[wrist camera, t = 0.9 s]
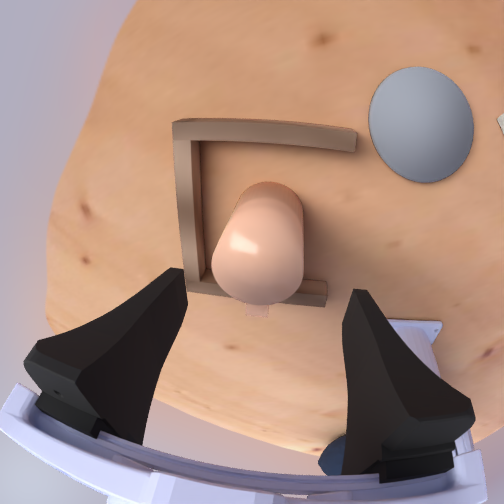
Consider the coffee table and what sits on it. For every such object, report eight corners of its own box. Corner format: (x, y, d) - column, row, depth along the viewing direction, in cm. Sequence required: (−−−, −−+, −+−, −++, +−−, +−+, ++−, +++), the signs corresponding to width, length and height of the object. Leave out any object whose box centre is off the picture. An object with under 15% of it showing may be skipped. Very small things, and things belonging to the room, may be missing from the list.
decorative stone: (355, 415, 35) (357, 477, 27) (403, 427, 37) (408, 479, 29) (306, 439, 41) (301, 491, 33) (355, 449, 43) (355, 495, 35)
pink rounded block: (296, 268, 23) (292, 334, 17) (236, 261, 24) (215, 324, 18) (306, 185, 20) (309, 234, 14) (236, 179, 20) (209, 225, 14)
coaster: (457, 188, 17) (461, 191, 17) (361, 169, 18) (362, 172, 18) (475, 86, 13) (479, 87, 13) (373, 54, 14) (375, 53, 13)
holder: (323, 292, 24) (324, 307, 23) (193, 278, 25) (186, 291, 24) (351, 128, 17) (357, 133, 15) (182, 118, 18) (172, 122, 17)
